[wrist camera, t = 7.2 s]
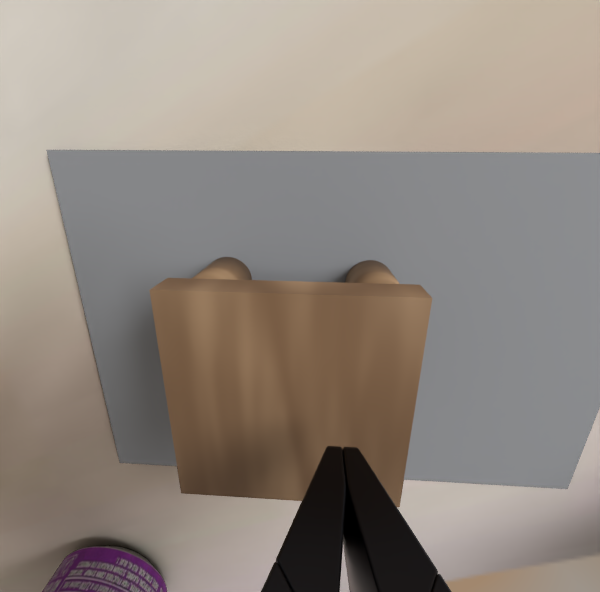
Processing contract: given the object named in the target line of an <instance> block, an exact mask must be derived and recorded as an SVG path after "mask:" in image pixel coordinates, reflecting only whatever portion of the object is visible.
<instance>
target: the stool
mask: <svg viewBox="0 0 600 592" xmlns="http://www.w3.org/2000/svg"><path fill="white" fill-rule="evenodd" d="M149 291H150V297H151V304H152V310H153V316H154V323H155V329H156V335H157V342H158V348H159V354H160V361H161V367H162V374H163V380H164V386H165V393H166V399H167V405H168V412H169V418H170V424H171V431H172V437H173V444H174V450H175V456H176V463H177V469H178V475H179V482H180V488H181V493H185V494H201V495H217V496H233V497H249V498H265V499H280V500H296V501H302V500H303V498H304V496H305V494H306V491H307V489H308V487H309V485H310V482H311V480H312V478H313V476H314V473H315V471H316V469H317V467H318V465H319V462H320V460H321V458H322V456H323V453H324V451H325V449H326V447H327V446H340V447H342V449H343V447H357V448H358V449H359V450H360V451H361V453H362V454H363V456H364V457H365V459H366V461H367V462H368V464H369V465H370V467H371V468H372V470H373V471H374V473H375V475H376V476H377V478H378V479H379V481H380V482H381V484H382V485H383V487H384V488H385V490H386V492H387V493H388V495H389V496H390V498H391V499H392V501H393V502H394V504H395V505H396V507H400V500H401V494H402V488H403V481H404V475H405V469H406V462H407V456H408V450H409V443H410V437H411V431H412V424H413V418H414V412H415V405H416V399H417V393H418V386H419V380H420V374H421V367H422V361H423V355H424V348H425V342H426V336H427V329H428V323H429V317H430V310H431V304H432V297H431V296H430V295H429V294H428V293H427V292H426V291H425V289H424V288H423V287H422V286H421V285H415V284H400V283H399V282H398V281H397V279H396V278H395V277H394V275H393V274H392V273H391V271H390V270H389V269H388V267H387V266H386V265H384V264H383V263H381V262H378V261H375V260H366V261H362V262H360V263H358V264H356V265H355V266H353V267H352V268H351V269H350V271H349V272H348V274H347V276H346V280H345V283H341V282H304V281H267V280H252V276H251V273H250V271H249V269H248V267H247V266H246V265H245V264H244V263H243V262H241V261H240V260H238V259H236V258H233V257H221V258H218V259H216V260H215V261H213V262H212V263H211V264H210V265H208V266H207V267H206V268H204V269H203V270H202V271H201V272H199V273H198V274H197V275H196V276H194V277H193V278H167V279H165V280H164V281H162V282H161V283H159V284H157V285H156V286H154V287H153V288H151V289H150V290H149Z"/></svg>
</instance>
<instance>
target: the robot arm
mask: <svg viewBox="0 0 600 592" xmlns="http://www.w3.org/2000/svg"><path fill="white" fill-rule="evenodd" d="M343 545H344V553H345V560H346V568H347V575H348V582H349V589H350V592H451V590H450V589H449V587H448V586H447V584H446V583H445V581H444V579H443V578H442V576H441V575H440V574H438V571H437V569H436V567H435V566H434V564H433V563H432V561H431V560H430V558H429V556H428V555H427V553H426V552H425V550H424V549H423V547H422V546H421V544H420V543H419V541H418V539H417V538H416V536H415V535H414V533H413V532H412V530H411V529H410V527H409V526H408V524H407V522H406V521H405V519H404V518H403V516H402V515H401V513H400V512H399V510H398V509H397V507H396V505H395V504H394V502H393V501H392V499H391V498H390V496H389V495H388V493H387V492H386V490H385V488H384V487H383V485H382V484H381V482H380V481H379V479H378V478H377V476H376V475H375V473H374V471H373V470H372V468H371V467H370V465H369V464H368V462H367V461H366V459H365V457H364V456H363V454H362V453H361V451H360V450H359V449H358V448H357V447H343V449H342V447H340V446H327V447H326V449H325V451H324V453H323V456H322V458H321V460H320V462H319V465H318V467H317V469H316V471H315V473H314V476H313V478H312V480H311V482H310V485H309V487H308V489H307V491H306V494H305V496H304V498H303V500H302V503H301V505H300V507H299V509H298V511H297V514H296V516H295V518H294V520H293V523H292V525H291V527H290V529H289V532H288V534H287V536H286V538H285V540H284V543H283V545H282V547H281V549H280V552H279V554H278V556H277V558H276V562H275V563H274V565H273V567H272V569H271V571H270V573H269V576H268V578H267V580H266V582H265V584H264V586H263V588H262V590H261V592H339V590H340V576H341V562H342V548H343ZM437 574H438V575H437Z"/></svg>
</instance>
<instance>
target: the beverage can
mask: <svg viewBox="0 0 600 592" xmlns="http://www.w3.org/2000/svg"><path fill="white" fill-rule="evenodd" d="M42 592H167V587H166V584H165V581H164V579H163V578H162V576H161V575H160V574H159V572H158V571H157V570H156V569H155V568H154V567H153V566H152V564H151V563H150V562H149V561H148V560H147V559H146V558H144V557H143V556H142V555H140V554H138V553H136V552H134V551H132V550H129V549H126V548H122V547H117V546H103V547H87V548H82V549H79V550H76V551H74V552H72V553H71V554H69V555H68V556H67V557H66V558H65V559H64V560H63V562H62V563H61V564H60V566H59V567H58V569H57V570H56V572H55V573H54V575H53V576H52V578H51V579H50V581H49V582H48V584H47V585H46V587H45V588H44V590H43V591H42Z"/></svg>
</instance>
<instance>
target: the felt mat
mask: <svg viewBox="0 0 600 592" xmlns="http://www.w3.org/2000/svg"><path fill="white" fill-rule="evenodd" d="M47 154H48V159H49V163H50V167H51V171H52V176H53V180H54V184H55V189H56V193H57V197H58V201H59V206H60V210H61V214H62V218H63V223H64V227H65V231H66V235H67V240H68V244H69V248H70V252H71V257H72V261H73V265H74V269H75V274H76V278H77V282H78V287H79V291H80V295H81V299H82V304H83V308H84V312H85V316H86V321H87V325H88V329H89V333H90V338H91V342H92V346H93V350H94V355H95V359H96V363H97V367H98V372H99V376H100V380H101V385H102V389H103V393H104V397H105V402H106V406H107V410H108V414H109V419H110V423H111V427H112V431H113V436H114V440H115V444H116V448H117V453H118V457H119V461H120V463H132V464H149V465H166V466H177V463H176V456H175V450H174V444H173V437H172V431H171V424H170V418H169V412H168V405H167V399H166V393H165V386H164V380H163V374H162V367H161V361H160V354H159V348H158V342H157V335H156V329H155V323H154V316H153V310H152V304H151V297H150V291H149V290H150V289H151V288H153V287H154V286H156V285H157V284H159V283H161V282H162V281H164V280H165V279H167V278H193V277H194V276H196V275H197V274H198V273H199V272H201V271H202V270H203V269H204V268H206V267H207V266H208V265H210V264H211V263H212V262H213V261H215V260H216V259H218V258H221V257H233V258H236V259H238V260H240V261H241V262H243V263H244V264H245V265H246V266H247V267H248V269H249V271H250V273H251V276H252V280H267V281H304V282H341V283H345V280H346V276H347V274H348V272H349V271H350V269H351V268H352V267H353V266H355V265H356V264H358V263H360V262H362V261H366V260H375V261H378V262H381V263H383V264H384V265H386V266H387V267H388V269H389V270H390V271H391V273H392V274H393V275H394V277H395V278H396V279H397V281H398V282H399V283H400V284H415V285H421V286H422V287H423V288H424V289H425V291H426V292H427V293H428V294H429V295H430V296H431V297H432V304H431V310H430V317H429V323H428V329H427V336H426V342H425V348H424V355H423V361H422V367H421V374H420V380H419V386H418V393H417V399H416V405H415V412H414V418H413V424H412V431H411V437H410V443H409V450H408V456H407V462H406V469H405V475H404V480H421V481H438V482H455V483H472V484H489V485H506V486H524V487H541V488H558V489H568V486H569V484H570V481H571V479H572V476H573V474H574V471H575V469H576V466H577V464H578V461H579V458H580V456H581V453H582V451H583V448H584V446H585V443H586V441H587V438H588V436H589V433H590V431H591V428H592V425H593V423H594V420H595V418H596V415H597V413H598V410H599V408H600V153H507V152H332V151H158V150H47Z"/></svg>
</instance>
